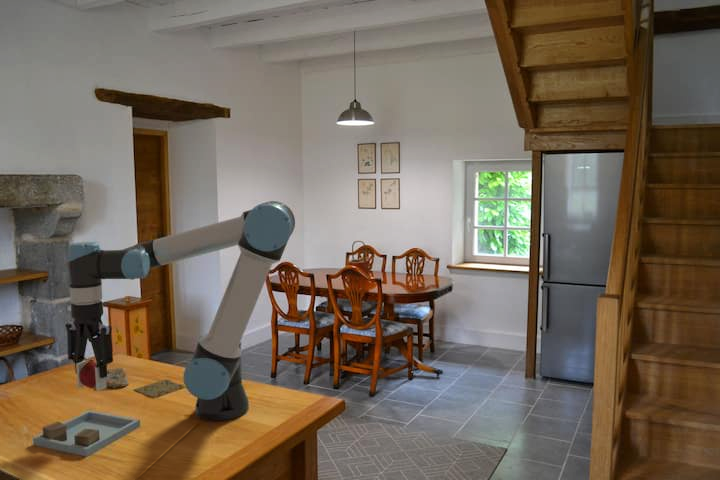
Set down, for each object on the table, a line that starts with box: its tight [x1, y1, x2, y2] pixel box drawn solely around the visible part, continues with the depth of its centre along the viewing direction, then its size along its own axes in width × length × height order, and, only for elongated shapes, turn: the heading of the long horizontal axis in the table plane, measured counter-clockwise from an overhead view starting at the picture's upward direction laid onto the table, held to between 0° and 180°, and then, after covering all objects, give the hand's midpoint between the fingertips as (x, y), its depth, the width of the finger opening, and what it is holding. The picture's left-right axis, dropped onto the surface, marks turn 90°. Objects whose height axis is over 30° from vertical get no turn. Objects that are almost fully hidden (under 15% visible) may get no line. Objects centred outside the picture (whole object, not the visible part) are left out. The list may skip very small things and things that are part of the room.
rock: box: [106, 367, 129, 389], centre depth 189 cm, size 9×6×10 cm
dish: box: [32, 410, 141, 458], centre depth 150 cm, size 18×18×2 cm
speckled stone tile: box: [132, 379, 187, 400], centre depth 185 cm, size 12×12×1 cm
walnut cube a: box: [74, 429, 100, 447], centre depth 143 cm, size 4×4×4 cm
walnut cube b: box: [42, 421, 67, 442], centre depth 147 cm, size 4×4×4 cm
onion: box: [79, 358, 97, 389], centre depth 151 cm, size 6×6×8 cm
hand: (92, 387), depth 151 cm, fingers closed on onion, 6 cm apart
